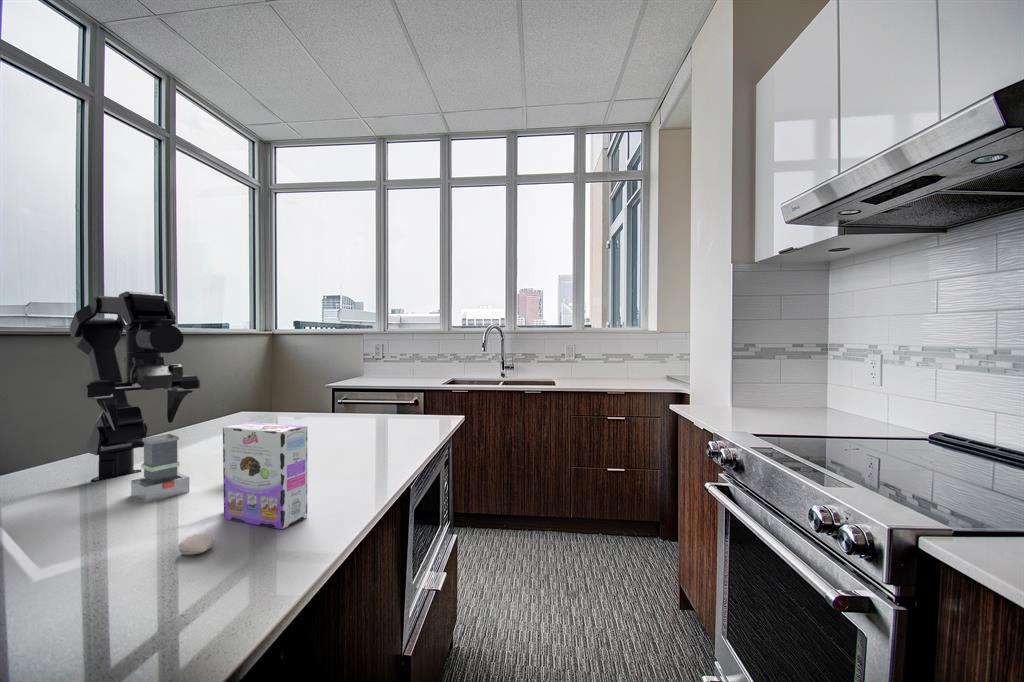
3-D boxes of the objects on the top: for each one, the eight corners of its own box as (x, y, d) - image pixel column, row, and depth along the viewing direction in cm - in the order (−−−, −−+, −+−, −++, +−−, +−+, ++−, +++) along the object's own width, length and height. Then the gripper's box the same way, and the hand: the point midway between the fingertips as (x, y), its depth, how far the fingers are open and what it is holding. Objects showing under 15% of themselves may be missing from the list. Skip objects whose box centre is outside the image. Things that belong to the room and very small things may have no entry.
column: (141, 477, 85) (141, 438, 85) (169, 471, 88) (169, 433, 88) (150, 481, 82) (150, 441, 82) (179, 475, 86) (179, 436, 86)
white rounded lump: (209, 543, 68) (209, 527, 68) (220, 554, 64) (220, 537, 64) (175, 554, 64) (175, 537, 64) (185, 565, 61) (185, 547, 61)
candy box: (309, 517, 77) (309, 425, 77) (281, 531, 72) (282, 431, 72) (251, 507, 82) (251, 419, 82) (221, 519, 76) (221, 425, 76)
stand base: (109, 502, 83) (109, 481, 83) (183, 484, 94) (183, 466, 94) (133, 516, 77) (133, 494, 77) (209, 495, 87) (209, 475, 87)
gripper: (97, 354, 79) (97, 440, 79) (211, 351, 95) (211, 423, 95) (78, 353, 85) (78, 432, 85) (188, 350, 101) (188, 417, 101)
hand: (144, 426), depth 91 cm, fingers open, 9 cm apart
